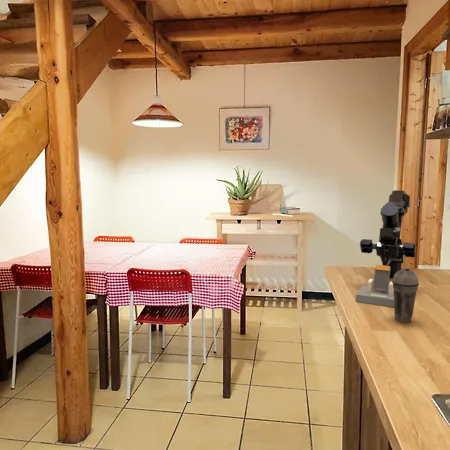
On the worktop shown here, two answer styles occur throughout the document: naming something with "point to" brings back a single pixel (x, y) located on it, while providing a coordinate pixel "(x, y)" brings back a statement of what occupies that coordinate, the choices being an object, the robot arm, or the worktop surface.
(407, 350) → the worktop surface
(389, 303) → the breaker base
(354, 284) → the worktop surface
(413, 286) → the beverage cup
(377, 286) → the lever
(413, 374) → the worktop surface
